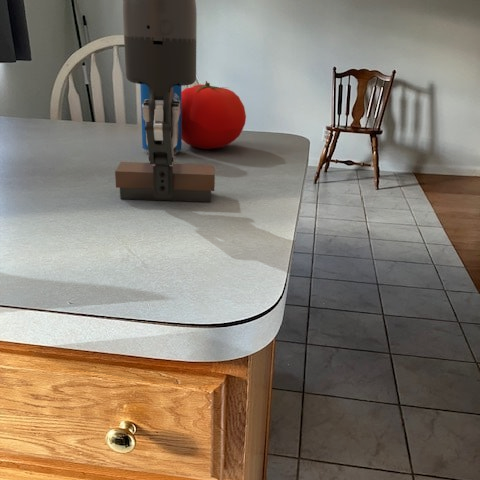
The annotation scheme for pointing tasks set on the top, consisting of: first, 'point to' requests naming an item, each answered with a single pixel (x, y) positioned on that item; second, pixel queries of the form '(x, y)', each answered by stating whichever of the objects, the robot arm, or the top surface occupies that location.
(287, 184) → the top surface
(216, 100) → the tomato
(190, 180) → the scrub brush
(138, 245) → the top surface
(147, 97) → the beverage can
